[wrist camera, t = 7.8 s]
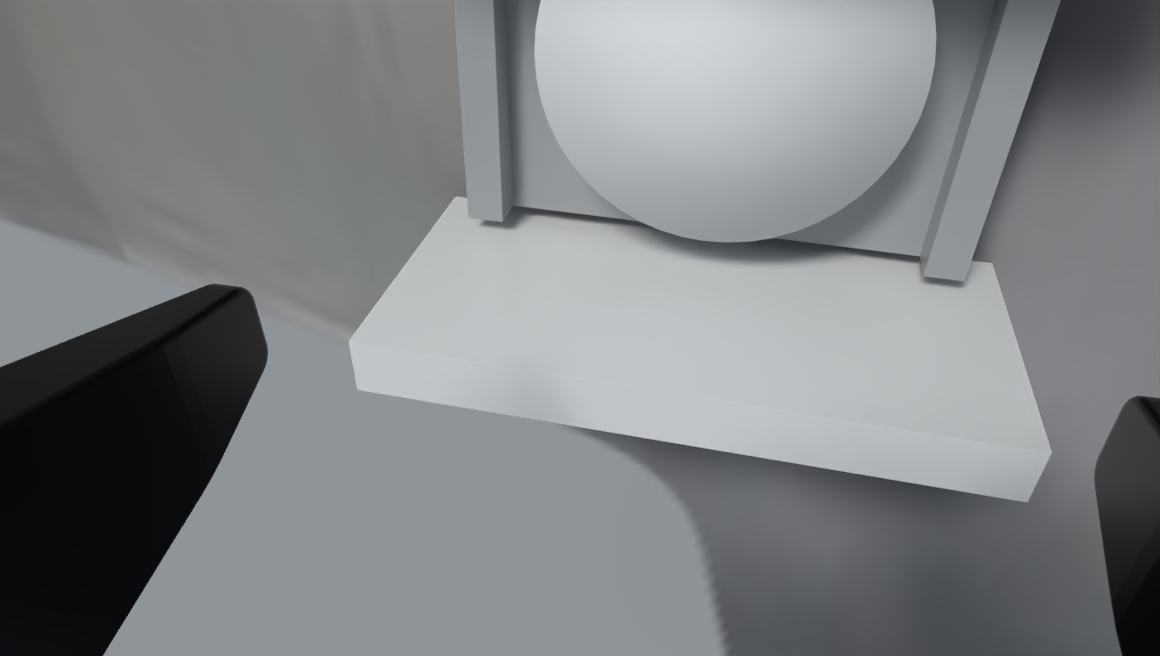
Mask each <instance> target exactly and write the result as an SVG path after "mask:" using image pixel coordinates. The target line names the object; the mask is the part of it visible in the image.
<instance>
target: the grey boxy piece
mask: <svg viewBox="0 0 1160 656" xmlns="http://www.w3.org/2000/svg"><path fill="white" fill-rule="evenodd" d="M932 1H933V5H934V12H935V24H936V36H937V37H936V54H935V66H934V71H933V76H932V81H931V86H930V90H929V93H928V96H927V99H926V102H925V105H924V108H923V111H922V114H921V116H920V118H919V120H918V122H917V124H916V126H915V128H914V130H913V132H912V134H911V136H910V138H909V140H908V142H907V143H906V144H905V146H904V147H903V149H902V150H901V152H900V153H899V155H898V156H897V158H896V159H895V161H894V162H893V163H892V164H891V165H890V167H889V168H888V169H887V170H886V171H885V172H884V174H883V175H882V176H881V177H880V178H879V179H878V180H877V181H876V182H875V183H874V184H873V185H872V186H871V187H870V188H868V189H867V190H866V191H865V192H864V193H863V194H862V195H861V196H860V197H858V198H857V199H855V200H854V201H853V202H851V203H850V204H848V205H847V206H846V207H844V208H843V209H841V210H840V211H838V212H836V213H835V214H833V215H831V216H829V217H827V218H825V219H824V220H822V221H820V222H818V223H816V224H813V225H811V226H808V227H806V228H803V229H801V230H798V231H796V232H793V233H789V234H785V235H782V236H778V237H774V238H769V239H763V240H757V241H750V242H729V243H725V242H711V241H701V240H696V239H690V238H685V237H680V236H677V235H674V234H671V233H667V232H664V231H661V230H658V229H656V228H654V227H651V226H649V225H647V224H644V223H642V222H640V221H638V220H636V219H635V218H633V217H631V216H629V215H628V214H626V213H624V212H622V211H621V210H619V209H618V208H617V207H615V206H614V205H613V204H611V203H610V202H609V201H607V200H606V199H605V198H603V197H602V196H601V195H600V194H599V193H598V192H597V191H596V190H595V189H593V188H592V187H591V186H590V185H589V184H588V183H587V182H586V181H585V180H584V178H583V177H582V176H581V175H580V174H579V172H578V171H577V170H576V169H575V168H574V166H573V165H572V164H571V163H570V161H569V159H568V158H567V156H566V155H565V153H564V152H563V150H562V149H561V147H560V145H559V144H558V142H557V140H556V138H555V136H554V133H553V131H552V129H551V127H550V125H549V123H548V120H547V117H546V114H545V111H544V108H543V105H542V102H541V98H540V94H539V89H538V84H537V79H536V69H535V56H534V49H535V29H536V23H537V17H538V12H539V6H540V2H541V0H453V3H454V17H455V31H456V46H457V60H458V74H459V89H460V103H461V117H462V132H463V146H464V160H465V175H466V189H467V198H464V197H455V198H454V199H453V201H452V202H451V203H450V205H449V206H448V207H447V209H446V210H445V212H444V213H443V214H442V216H441V217H440V218H439V220H438V221H437V222H436V224H435V225H434V226H433V228H432V229H431V230H430V232H429V233H428V235H427V236H426V237H425V239H424V240H423V241H422V243H421V244H420V245H419V247H418V248H417V249H416V251H415V252H414V253H413V255H412V256H411V258H410V259H409V260H408V262H407V263H406V264H405V266H404V267H403V268H402V270H401V271H400V272H399V274H398V275H397V276H396V278H395V279H394V281H393V282H392V283H391V285H390V286H389V287H388V289H387V290H386V291H385V293H384V294H383V295H382V297H381V298H380V299H379V301H378V302H377V304H376V305H375V306H374V308H373V309H372V310H371V312H370V313H369V314H368V316H367V317H366V318H365V320H364V321H363V322H362V324H361V325H360V327H359V328H358V329H357V331H356V332H355V333H354V335H353V336H352V337H351V339H350V340H349V346H350V352H351V357H352V363H353V368H354V374H355V379H356V384H357V389H358V390H362V391H368V392H374V393H380V394H386V395H392V396H398V397H404V398H409V399H415V400H421V401H427V402H433V403H439V404H445V405H451V406H458V407H463V408H469V409H475V410H481V411H487V412H493V413H499V414H504V415H511V416H516V417H522V418H529V419H535V420H540V421H546V422H552V423H558V424H564V425H570V426H576V427H582V428H588V429H594V430H600V431H606V432H611V433H617V434H623V435H629V436H635V437H641V438H647V439H653V440H659V441H665V442H671V443H677V444H683V445H689V446H695V447H701V448H707V449H712V450H718V451H724V452H730V453H736V454H742V455H748V456H754V457H760V458H766V459H772V460H778V461H784V462H790V463H796V464H802V465H808V466H814V467H819V468H825V469H831V470H837V471H843V472H849V473H855V474H861V475H867V476H873V477H879V478H885V479H891V480H897V481H903V482H909V483H915V484H920V485H926V486H932V487H938V488H944V489H950V490H956V491H962V492H968V493H974V494H980V495H986V496H992V497H998V498H1004V499H1010V500H1016V501H1022V502H1027V503H1028V501H1029V499H1030V497H1031V495H1032V492H1033V490H1034V488H1035V486H1036V484H1037V482H1038V480H1039V478H1040V476H1041V474H1042V472H1043V470H1044V468H1045V466H1046V464H1047V462H1048V460H1049V458H1050V456H1051V453H1052V451H1051V448H1050V445H1049V442H1048V439H1047V436H1046V432H1045V429H1044V426H1043V423H1042V420H1041V417H1040V413H1039V410H1038V407H1037V404H1036V401H1035V397H1034V394H1033V391H1032V388H1031V385H1030V382H1029V378H1028V375H1027V372H1026V369H1025V366H1024V363H1023V359H1022V356H1021V353H1020V350H1019V347H1018V344H1017V340H1016V337H1015V334H1014V331H1013V328H1012V325H1011V321H1010V318H1009V315H1008V312H1007V309H1006V305H1005V302H1004V299H1003V296H1002V293H1001V290H1000V286H999V283H998V280H997V277H996V274H995V271H994V267H993V264H992V263H986V262H978V261H972V258H973V255H974V252H975V249H976V246H977V243H978V240H979V237H980V234H981V232H982V229H983V226H984V223H985V220H986V217H987V214H988V211H989V208H990V205H991V202H992V200H993V197H994V194H995V191H996V188H997V185H998V182H999V179H1000V176H1001V173H1002V170H1003V168H1004V165H1005V162H1006V159H1007V156H1008V153H1009V150H1010V147H1011V144H1012V141H1013V138H1014V136H1015V133H1016V130H1017V127H1018V124H1019V121H1020V118H1021V115H1022V112H1023V109H1024V106H1025V103H1026V101H1027V98H1028V95H1029V92H1030V89H1031V86H1032V83H1033V80H1034V77H1035V74H1036V71H1037V69H1038V66H1039V63H1040V60H1041V57H1042V54H1043V51H1044V48H1045V45H1046V42H1047V39H1048V37H1049V34H1050V31H1051V28H1052V25H1053V22H1054V19H1055V16H1056V13H1057V10H1058V7H1059V5H1060V2H1061V0H932Z"/></svg>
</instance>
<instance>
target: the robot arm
mask: <svg viewBox="0 0 1160 656" xmlns="http://www.w3.org/2000/svg"><path fill="white" fill-rule="evenodd" d="M267 356H268V348H267V343H266V339H265V336H264V333H263V329H262V325H261V322H260V318H259V315H258V311H257V308H256V305H255V301H254V298H253V296H252V295H251V293H250V292H249V291H248V290H246V289H245V288H243V287H237V286H229V285H220V284H210V285H207V286H204V287H201V288H199V289H196V290H194V291H191V292H189V293H186V294H184V295H181V296H179V297H176V298H174V299H171V300H169V301H166V302H164V303H161V304H159V305H156V306H154V307H151V308H149V309H146V310H143V311H141V312H138V313H136V314H133V315H131V316H128V317H126V318H123V319H121V320H118V321H116V322H113V323H111V324H108V325H106V326H103V327H101V328H98V329H95V330H93V331H90V332H88V333H85V334H83V335H80V336H78V337H75V338H73V339H70V340H68V341H66V342H63V343H60V344H58V345H55V346H53V347H50V348H48V349H45V350H42V351H40V352H37V353H35V354H32V355H30V356H28V357H25V358H22V359H20V360H17V361H15V362H12V363H10V364H7V365H5V366H2V367H0V656H103V655H104V653H105V651H106V650H107V648H108V646H109V645H110V643H111V641H112V640H113V638H114V637H115V635H116V633H117V632H118V630H119V629H120V627H121V625H122V624H123V622H124V620H125V619H126V617H127V616H128V614H129V612H130V611H131V609H132V608H133V606H134V604H135V602H136V601H137V599H138V598H139V596H140V594H141V593H142V591H143V590H144V588H145V586H146V585H147V583H148V582H149V580H150V578H151V577H152V575H153V573H154V572H155V570H156V569H157V567H158V565H159V564H160V562H161V560H162V559H163V557H164V555H165V554H166V552H167V551H168V549H169V547H170V546H171V544H172V542H173V541H174V539H175V538H176V536H177V534H178V533H179V531H180V530H181V527H182V526H183V525H184V523H185V521H186V519H187V518H188V517H189V515H190V513H191V512H192V510H193V508H194V507H195V505H196V503H197V502H198V500H199V499H200V497H201V495H202V494H203V492H204V490H205V489H206V487H207V485H208V483H209V482H210V480H211V478H212V476H213V474H214V473H215V471H216V469H217V467H218V465H219V463H220V461H221V459H222V457H223V455H224V453H225V451H226V448H227V447H228V444H229V442H230V440H231V438H232V436H233V434H234V432H235V430H236V428H237V426H238V423H239V421H240V419H241V417H242V415H243V413H244V411H245V409H246V407H247V405H248V402H249V400H250V398H251V396H252V394H253V392H254V390H255V388H256V386H257V384H258V381H259V379H260V377H261V375H262V373H263V371H264V369H265V366H266V362H267ZM1094 481H1095V490H1096V497H1097V504H1098V511H1099V519H1100V526H1101V533H1102V540H1103V547H1104V554H1105V562H1106V569H1107V576H1108V583H1109V590H1110V597H1111V604H1112V610H1113V616H1114V622H1115V628H1116V632H1117V636H1118V640H1119V644H1120V648H1121V653H1122V656H1160V398H1154V397H1145V396H1136V397H1133V398H1131V399H1129V400H1128V401H1127V402H1126V403H1125V404H1124V406H1123V407H1122V409H1121V411H1120V413H1119V415H1118V417H1117V419H1116V421H1115V424H1114V426H1113V428H1112V430H1111V432H1110V434H1109V436H1108V438H1107V440H1106V442H1105V444H1104V446H1103V448H1102V450H1101V452H1100V455H1099V457H1098V459H1097V463H1096V467H1095V477H1094Z"/></svg>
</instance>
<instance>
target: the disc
mask: <svg viewBox="0 0 1160 656" xmlns="http://www.w3.org/2000/svg"><path fill="white" fill-rule="evenodd" d="M936 37H937V36H936V24H935V12H934V5H933V1H932V0H541V2H540V6H539V12H538V17H537V23H536V29H535V49H534V56H535V69H536V79H537V84H538V89H539V94H540V98H541V102H542V105H543V108H544V111H545V114H546V117H547V120H548V123H549V125H550V127H551V129H552V131H553V133H554V136H555V138H556V140H557V142H558V144H559V145H560V147H561V149H562V150H563V152H564V153H565V155H566V156H567V158H568V159H569V161H570V163H571V164H572V165H573V166H574V168H575V169H576V170H577V171H578V172H579V174H580V175H581V176H582V177H583V178H584V180H585V181H586V182H587V183H588V184H589V185H590V186H591V187H592V188H593V189H595V190H596V191H597V192H598V193H599V194H600V195H601V196H602V197H603V198H605V199H606V200H607V201H609V202H610V203H611V204H613V205H614V206H615V207H617V208H618V209H619V210H621V211H622V212H624V213H626V214H628V215H629V216H631V217H633V218H635V219H636V220H638V221H640V222H642V223H644V224H647V225H649V226H651V227H654V228H656V229H658V230H661V231H664V232H667V233H671V234H674V235H677V236H680V237H685V238H690V239H696V240H701V241H711V242H725V243H729V242H750V241H757V240H763V239H769V238H774V237H778V236H782V235H785V234H789V233H793V232H796V231H798V230H801V229H803V228H806V227H808V226H811V225H813V224H816V223H818V222H820V221H822V220H824V219H825V218H827V217H829V216H831V215H833V214H835V213H836V212H838V211H840V210H841V209H843V208H844V207H846V206H847V205H848V204H850V203H851V202H853V201H854V200H855V199H857V198H858V197H860V196H861V195H862V194H863V193H864V192H865V191H866V190H867V189H868V188H870V187H871V186H872V185H873V184H874V183H875V182H876V181H877V180H878V179H879V178H880V177H881V176H882V175H883V174H884V172H885V171H886V170H887V169H888V168H889V167H890V165H891V164H892V163H893V162H894V161H895V159H896V158H897V156H898V155H899V153H900V152H901V150H902V149H903V147H904V146H905V144H906V143H907V142H908V140H909V138H910V136H911V134H912V132H913V130H914V128H915V126H916V124H917V122H918V120H919V118H920V116H921V114H922V111H923V108H924V105H925V102H926V99H927V96H928V93H929V90H930V86H931V81H932V76H933V71H934V66H935V54H936Z"/></svg>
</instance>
